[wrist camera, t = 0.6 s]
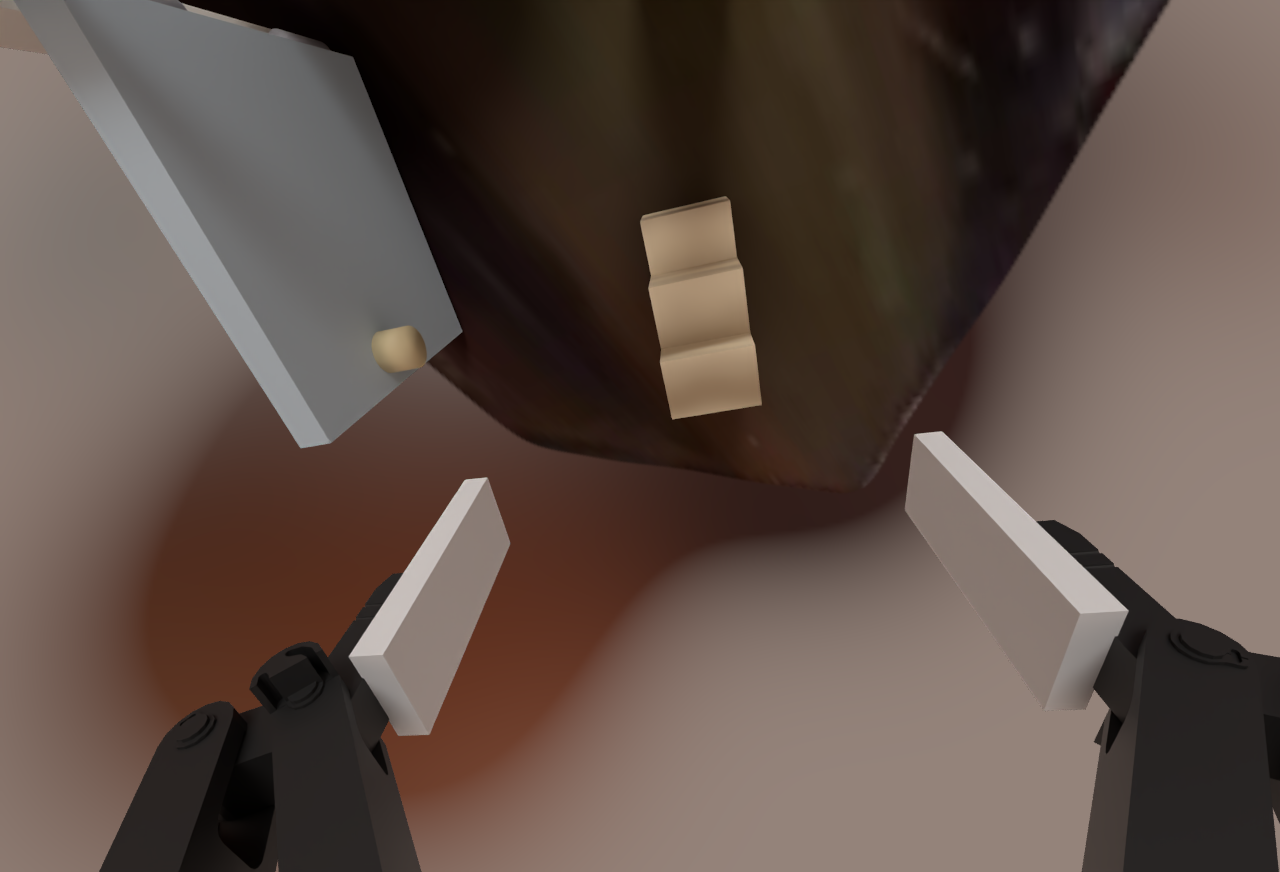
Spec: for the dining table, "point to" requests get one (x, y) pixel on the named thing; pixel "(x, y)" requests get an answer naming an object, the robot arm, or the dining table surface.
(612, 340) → the dining table surface
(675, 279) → the toy staircase
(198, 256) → the door
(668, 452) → the dining table surface
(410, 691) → the robot arm
